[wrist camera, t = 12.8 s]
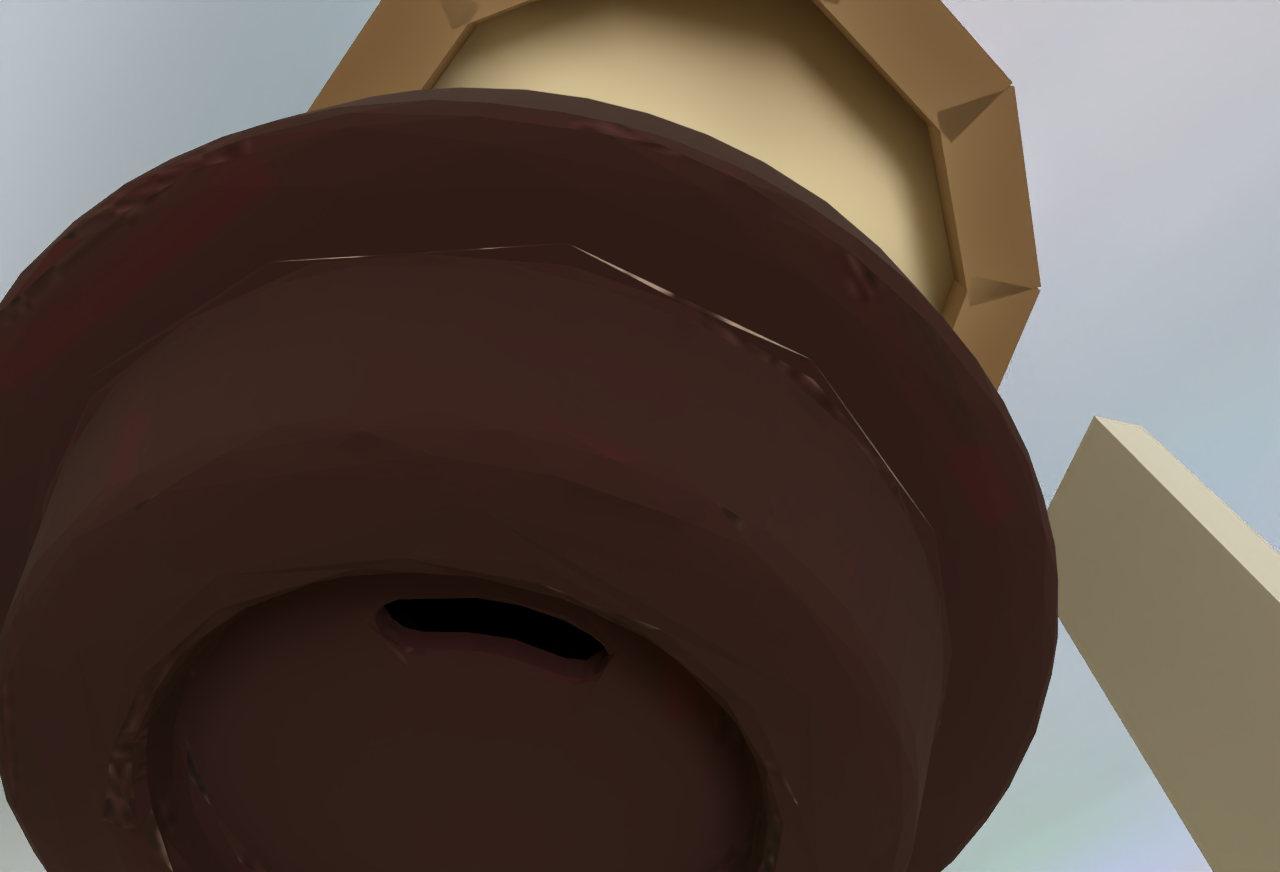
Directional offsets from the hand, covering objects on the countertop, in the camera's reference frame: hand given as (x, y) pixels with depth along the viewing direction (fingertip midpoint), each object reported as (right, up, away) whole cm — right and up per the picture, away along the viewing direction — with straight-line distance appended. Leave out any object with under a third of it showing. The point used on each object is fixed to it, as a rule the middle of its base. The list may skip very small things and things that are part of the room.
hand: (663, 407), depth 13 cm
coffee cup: (-1, +3, +6) cm, 7 cm away
